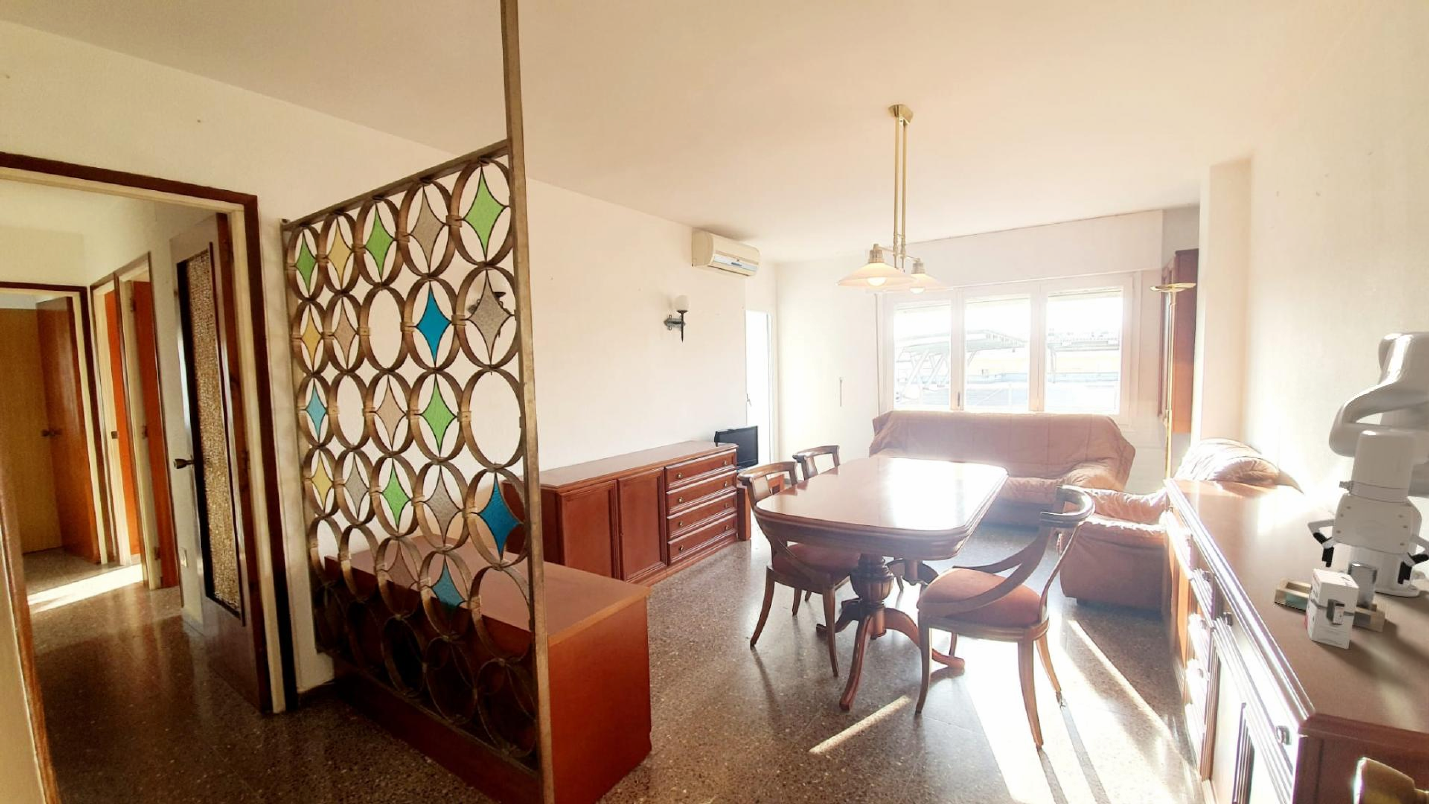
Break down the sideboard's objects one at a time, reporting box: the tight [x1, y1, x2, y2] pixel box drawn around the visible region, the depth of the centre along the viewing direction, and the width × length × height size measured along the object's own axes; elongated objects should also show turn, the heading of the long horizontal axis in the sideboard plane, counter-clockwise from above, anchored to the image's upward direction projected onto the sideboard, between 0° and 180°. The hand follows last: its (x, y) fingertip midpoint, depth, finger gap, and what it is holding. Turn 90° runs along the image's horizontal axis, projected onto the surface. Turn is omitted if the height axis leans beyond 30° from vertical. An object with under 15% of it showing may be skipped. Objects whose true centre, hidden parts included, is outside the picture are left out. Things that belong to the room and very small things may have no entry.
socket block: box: [1273, 577, 1387, 633], centre depth 117 cm, size 15×10×3 cm
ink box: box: [1303, 567, 1359, 650], centre depth 106 cm, size 9×5×12 cm, turn 141°
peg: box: [1347, 562, 1379, 611], centre depth 114 cm, size 4×4×11 cm
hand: (1363, 573), depth 114 cm, fingers open, 9 cm apart
